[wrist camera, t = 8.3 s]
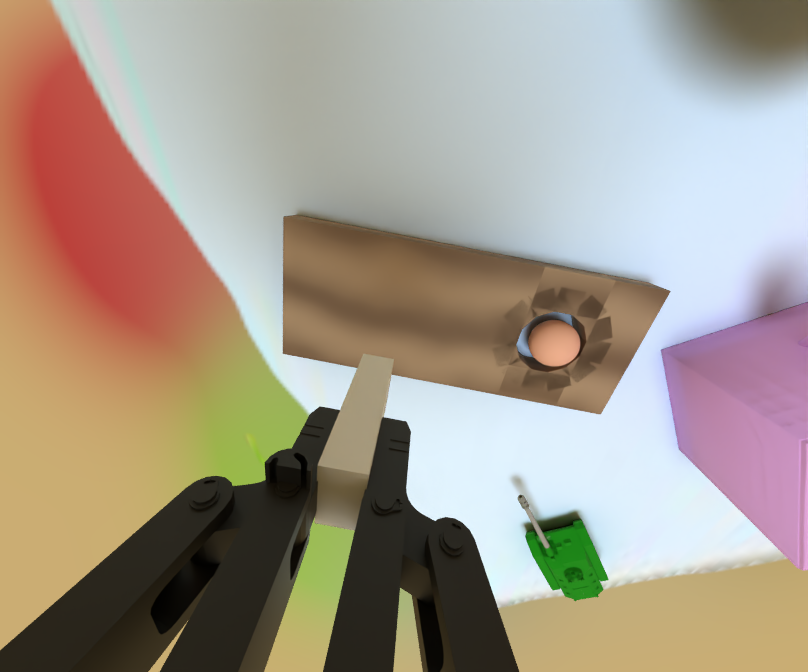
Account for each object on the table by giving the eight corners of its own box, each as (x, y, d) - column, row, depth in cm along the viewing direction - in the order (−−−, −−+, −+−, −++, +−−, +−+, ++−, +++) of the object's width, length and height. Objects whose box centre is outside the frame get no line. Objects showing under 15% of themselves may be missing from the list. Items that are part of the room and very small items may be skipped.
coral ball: (527, 315, 25) (573, 337, 23) (552, 309, 28) (597, 328, 25) (513, 356, 27) (554, 380, 24) (537, 347, 29) (577, 368, 27)
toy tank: (554, 461, 34) (574, 501, 30) (598, 557, 41) (619, 602, 36) (496, 478, 36) (506, 518, 31) (546, 567, 42) (561, 612, 38)
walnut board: (296, 214, 25) (283, 216, 23) (648, 282, 25) (670, 291, 23) (293, 341, 30) (282, 353, 28) (587, 398, 30) (600, 414, 28)
